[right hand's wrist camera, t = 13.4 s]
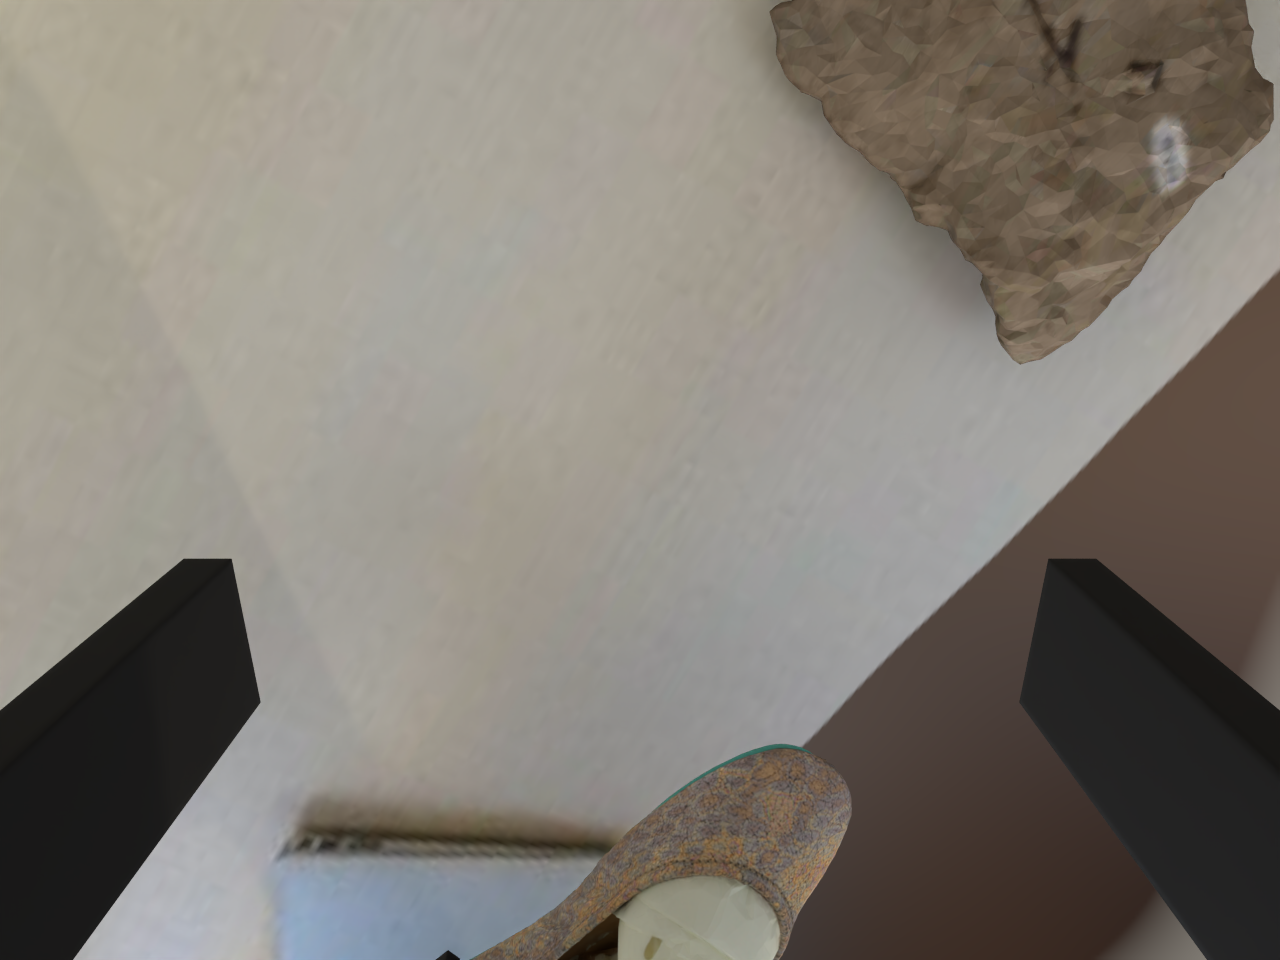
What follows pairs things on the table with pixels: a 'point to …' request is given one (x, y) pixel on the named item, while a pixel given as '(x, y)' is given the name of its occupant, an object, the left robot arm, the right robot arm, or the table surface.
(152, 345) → the table surface
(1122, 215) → the stone
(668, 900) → the ballet flat
